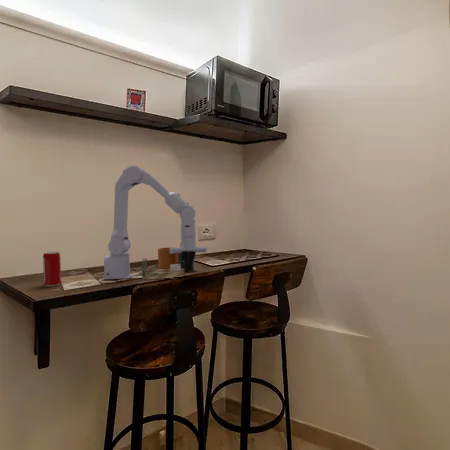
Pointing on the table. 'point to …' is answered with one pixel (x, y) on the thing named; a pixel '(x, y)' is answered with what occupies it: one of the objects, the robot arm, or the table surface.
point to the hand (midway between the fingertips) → (188, 271)
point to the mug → (166, 258)
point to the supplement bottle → (182, 262)
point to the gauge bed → (158, 272)
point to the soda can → (51, 268)
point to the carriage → (175, 267)
